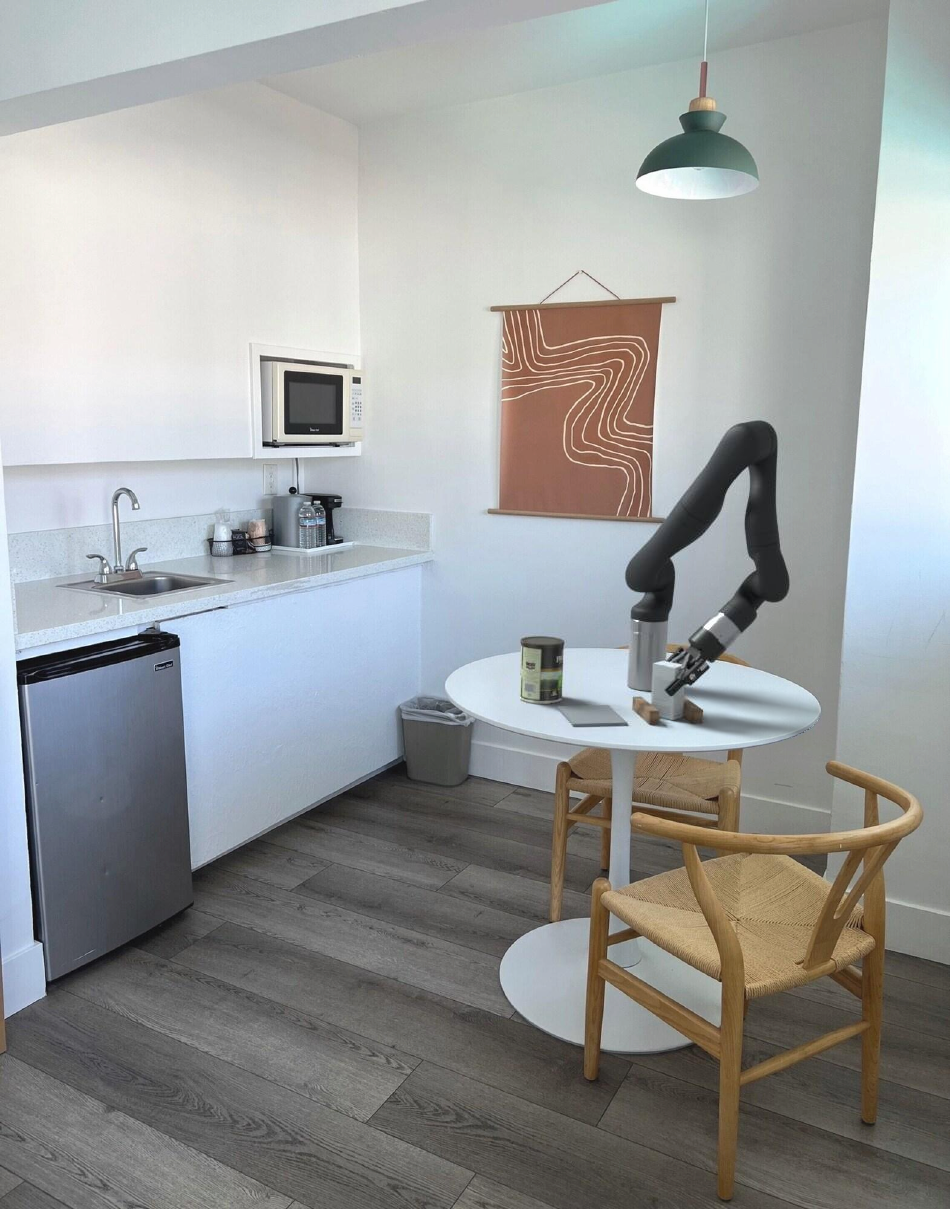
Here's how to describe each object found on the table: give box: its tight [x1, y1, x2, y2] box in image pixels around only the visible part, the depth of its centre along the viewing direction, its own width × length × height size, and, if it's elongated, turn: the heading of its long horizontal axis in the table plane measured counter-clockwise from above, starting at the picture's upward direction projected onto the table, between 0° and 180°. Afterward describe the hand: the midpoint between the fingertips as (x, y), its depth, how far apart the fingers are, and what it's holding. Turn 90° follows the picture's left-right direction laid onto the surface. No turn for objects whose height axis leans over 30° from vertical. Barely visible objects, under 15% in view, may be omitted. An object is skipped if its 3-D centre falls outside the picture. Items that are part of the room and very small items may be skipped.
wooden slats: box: [631, 696, 704, 726], centre depth 210 cm, size 12×12×3 cm
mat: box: [557, 704, 628, 728], centre depth 209 cm, size 14×12×1 cm
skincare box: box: [650, 661, 685, 721], centre depth 209 cm, size 6×4×12 cm
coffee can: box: [518, 635, 565, 705], centre depth 222 cm, size 10×10×14 cm
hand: (661, 689), depth 209 cm, fingers closed on skincare box, 7 cm apart
